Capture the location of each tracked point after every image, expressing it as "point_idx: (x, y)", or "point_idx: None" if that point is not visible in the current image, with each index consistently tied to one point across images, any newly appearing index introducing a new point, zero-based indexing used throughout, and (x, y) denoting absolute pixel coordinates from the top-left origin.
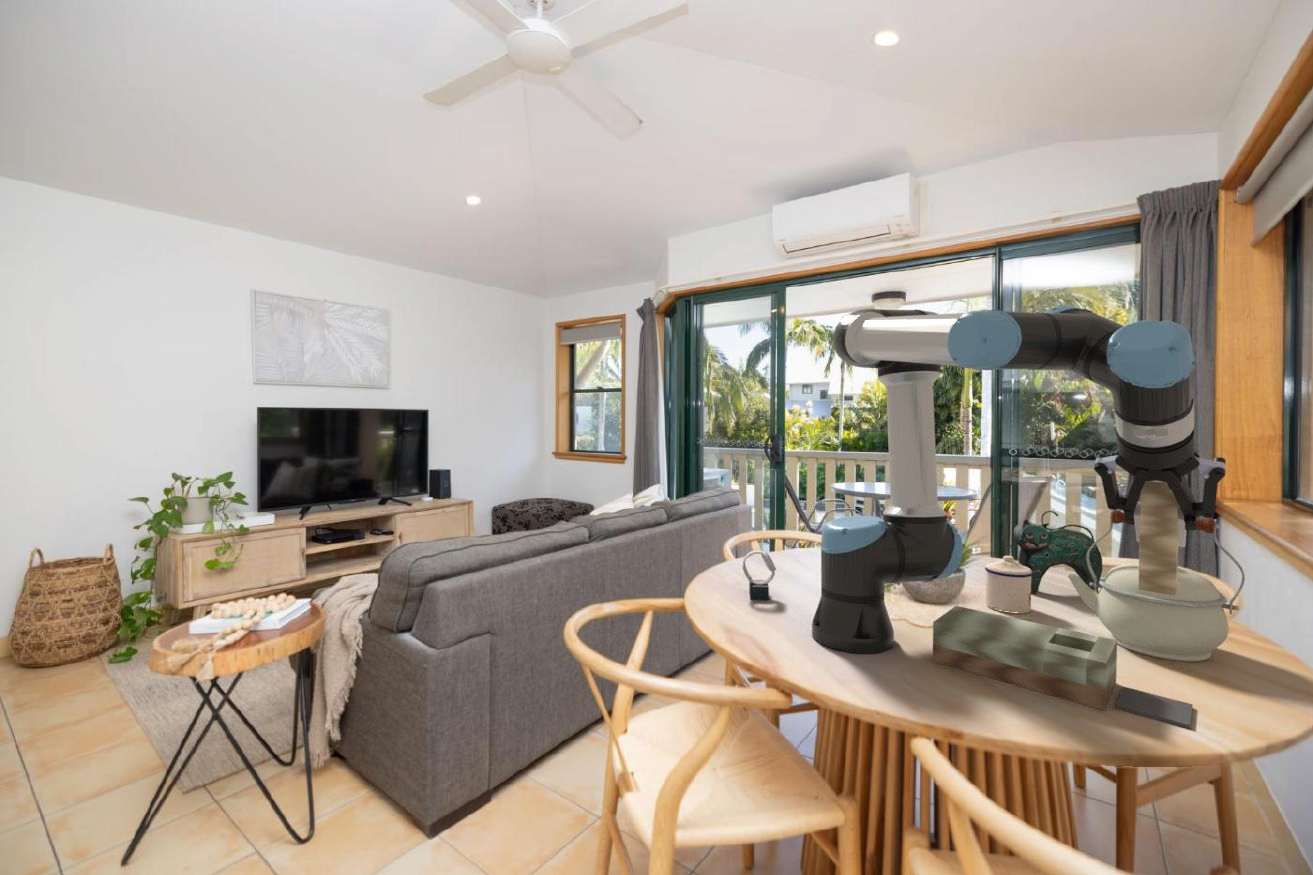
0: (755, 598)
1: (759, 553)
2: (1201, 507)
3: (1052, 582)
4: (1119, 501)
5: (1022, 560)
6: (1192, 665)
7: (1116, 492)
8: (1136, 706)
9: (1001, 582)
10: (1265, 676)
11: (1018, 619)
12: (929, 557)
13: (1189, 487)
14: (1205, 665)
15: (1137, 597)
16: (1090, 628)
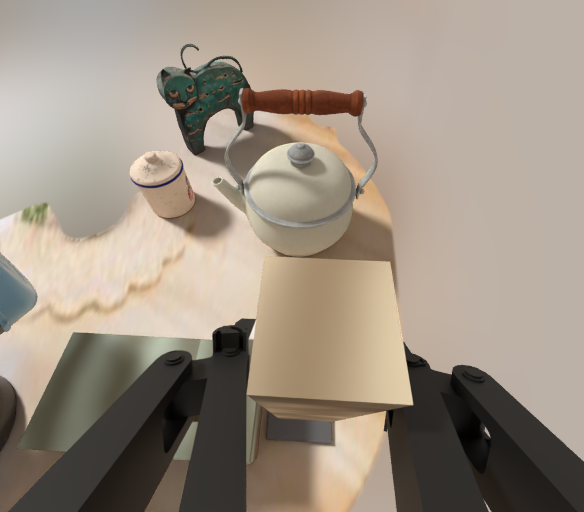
0: None
1: None
2: (451, 418)
3: (218, 118)
4: (191, 407)
5: (179, 121)
6: (324, 256)
7: (152, 463)
8: (285, 426)
9: (152, 194)
10: (371, 246)
11: (153, 338)
12: None
13: (464, 452)
14: (333, 250)
15: (280, 225)
16: (246, 215)
